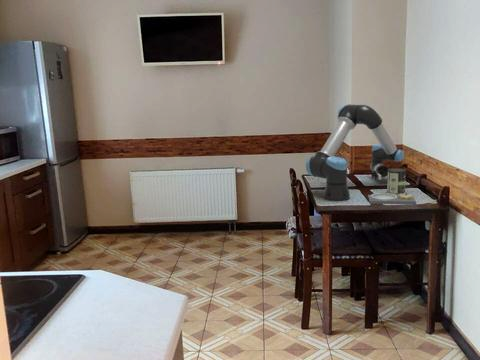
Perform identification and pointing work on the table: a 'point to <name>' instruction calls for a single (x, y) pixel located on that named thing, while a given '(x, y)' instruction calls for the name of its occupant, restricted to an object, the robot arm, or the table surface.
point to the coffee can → (396, 181)
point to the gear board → (391, 198)
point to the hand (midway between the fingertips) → (391, 177)
